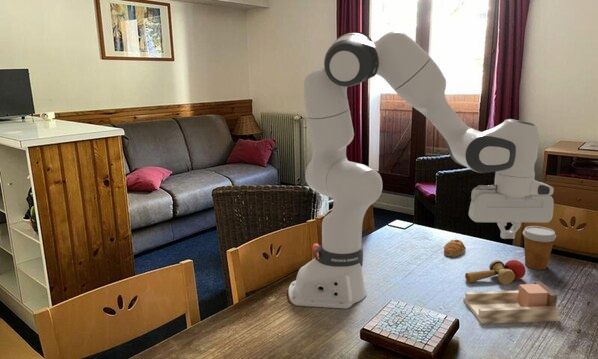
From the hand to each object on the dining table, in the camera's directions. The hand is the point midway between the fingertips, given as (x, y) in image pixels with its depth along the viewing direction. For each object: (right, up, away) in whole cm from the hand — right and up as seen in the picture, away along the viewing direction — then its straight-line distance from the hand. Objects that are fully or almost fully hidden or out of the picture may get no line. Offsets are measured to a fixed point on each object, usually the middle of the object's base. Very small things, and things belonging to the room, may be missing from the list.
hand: (507, 238), depth 116 cm
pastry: (+1, -11, +44) cm, 45 cm away
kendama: (+6, -16, +22) cm, 28 cm away
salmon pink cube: (+9, -19, +5) cm, 21 cm away
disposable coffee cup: (+24, -13, +32) cm, 42 cm away
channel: (+3, -20, +5) cm, 20 cm away
